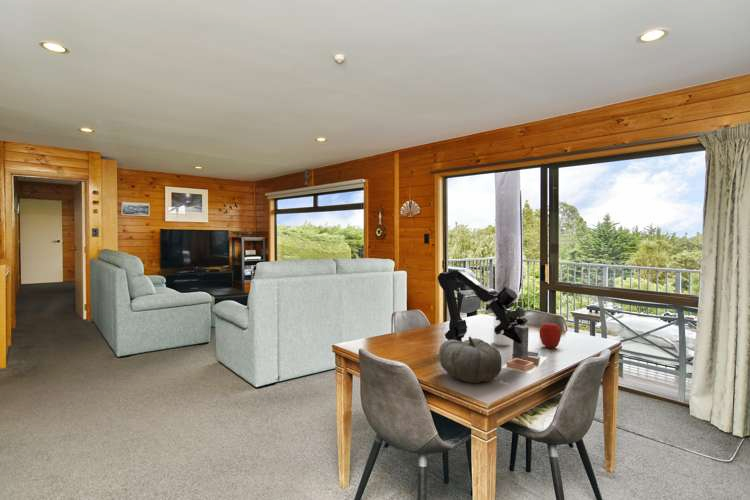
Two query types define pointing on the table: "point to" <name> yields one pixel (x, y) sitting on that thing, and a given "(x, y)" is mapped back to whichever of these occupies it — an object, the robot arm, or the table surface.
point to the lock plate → (531, 359)
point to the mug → (501, 338)
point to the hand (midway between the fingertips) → (523, 342)
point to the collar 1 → (524, 365)
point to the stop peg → (522, 348)
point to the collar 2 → (534, 354)
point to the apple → (550, 335)
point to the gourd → (470, 360)
